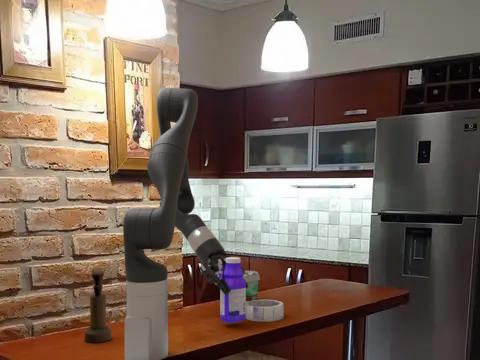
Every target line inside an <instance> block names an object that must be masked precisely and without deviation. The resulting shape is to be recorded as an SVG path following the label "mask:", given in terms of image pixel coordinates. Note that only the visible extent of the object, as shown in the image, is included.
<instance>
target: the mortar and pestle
mask: <svg viewBox="0 0 480 360" xmlns="http://www.w3.org/2000/svg"><path fill="white" fill-rule="evenodd" d="M104 274H105V271H104V269H103V268H101V267H95V268H93V269H92V271H91V278H92V279H93V281H94V285H93V286H92V287H93V291H94V294H91V295H89V311H90V313H89V318H90V319H89V320H90V321H89V327H88V328H86V329H85V330H84V342H86V343H91V344H92V343H94V344H95V343H96V344H97V343H104V342H108V341H109V340H111V339H112V336H113V335H112V328H110V326H108V325H107V300H106V299H107V295H106V294H105V293H103V292H102V291H103V288H104V287H103V285H102V279H103V278H104V276H105V275H104Z"/></svg>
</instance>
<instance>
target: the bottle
mask: <svg viewBox="0 0 480 360" xmlns="http://www.w3.org/2000/svg"><path fill="white" fill-rule="evenodd" d="M241 266H242V262H241V257H238V256H237V257H235V256H231V257H230V256H229V257H227V258H226V267H225V270H224V272H223V274H222V277H223V279H224V280H225V282H226V283H227V284H228V286H229V287H230V289H231V291H230V292H229V294H227V295H225V294H224V293H223V292H222V291H221V289H220V288H219V291H220V292H219V293H220V294H219V295H220V297H219V306H220V308H219V310H220V311H219V318H220V320H221V321H222V322H224V323H227V324H233V323H238V322H239V323H240V322H243V321H245V319H246V317H245V316H246V283H245V281H244V279H243V274H245V273H243V271H242V269H241ZM223 279H222V280H223Z"/></svg>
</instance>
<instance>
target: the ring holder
mask: <svg viewBox="0 0 480 360" xmlns="http://www.w3.org/2000/svg"><path fill="white" fill-rule="evenodd" d="M284 308H285V307H284V303H283V302H282V301H280V300H275V299H257V300H252V301H248V302H246V316H245V319H246V320H249V321H251V322H262V323H264V322H266V323H268V322H276V321H281V320H283V319H284V317H285V315H284V311H285V310H284Z"/></svg>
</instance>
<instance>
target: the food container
mask: <svg viewBox="0 0 480 360" xmlns="http://www.w3.org/2000/svg"><path fill="white" fill-rule="evenodd" d="M244 271H245V273H244V274H243V278H244V279H245V281H246V282H247V284H248V288H247V289H246V302H248V301H252V300H258V288H259V281H260V280H261V278H260V274H259V271H256V270H244Z"/></svg>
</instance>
